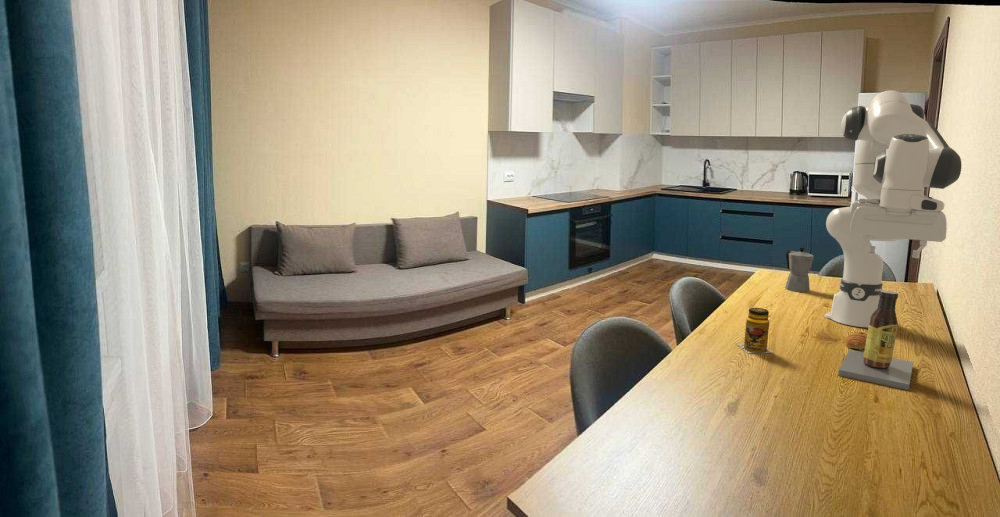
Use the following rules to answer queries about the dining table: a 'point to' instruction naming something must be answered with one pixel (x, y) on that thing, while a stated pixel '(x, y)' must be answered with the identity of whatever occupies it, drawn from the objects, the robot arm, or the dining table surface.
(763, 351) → the condiment
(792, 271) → the coffeepot
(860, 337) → the pastry
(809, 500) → the dining table surface
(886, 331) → the sauce bottle
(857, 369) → the serving board
